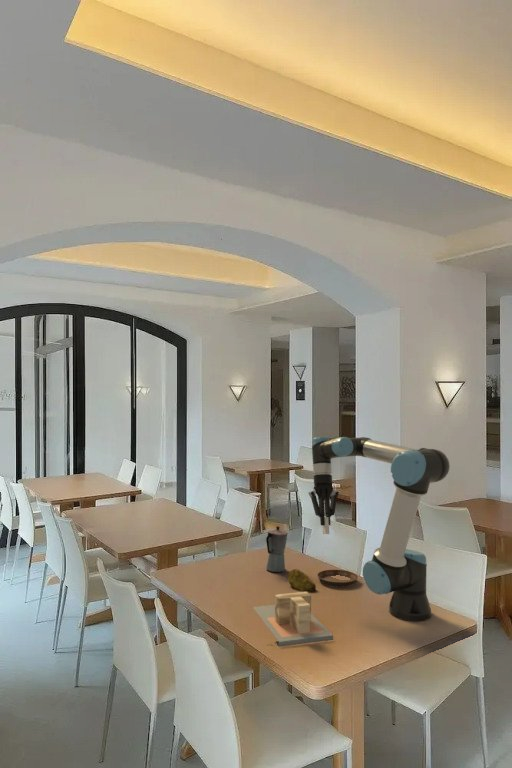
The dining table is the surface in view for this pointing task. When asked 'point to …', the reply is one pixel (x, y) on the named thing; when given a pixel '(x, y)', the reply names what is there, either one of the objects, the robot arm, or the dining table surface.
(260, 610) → the board
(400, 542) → the robot arm
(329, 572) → the plant saucer
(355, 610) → the dining table surface
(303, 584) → the potato
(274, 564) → the moka pot
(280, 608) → the t block
